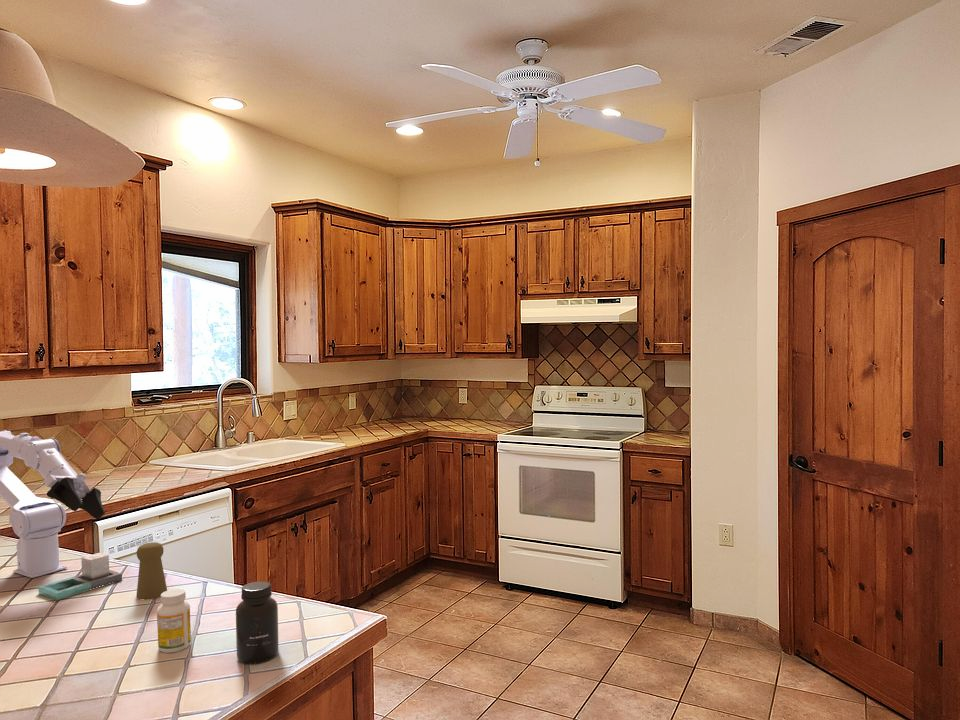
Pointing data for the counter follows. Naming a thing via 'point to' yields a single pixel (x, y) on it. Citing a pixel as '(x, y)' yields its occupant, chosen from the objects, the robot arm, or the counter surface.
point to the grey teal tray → (76, 585)
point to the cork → (150, 571)
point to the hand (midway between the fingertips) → (89, 511)
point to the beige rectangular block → (95, 566)
